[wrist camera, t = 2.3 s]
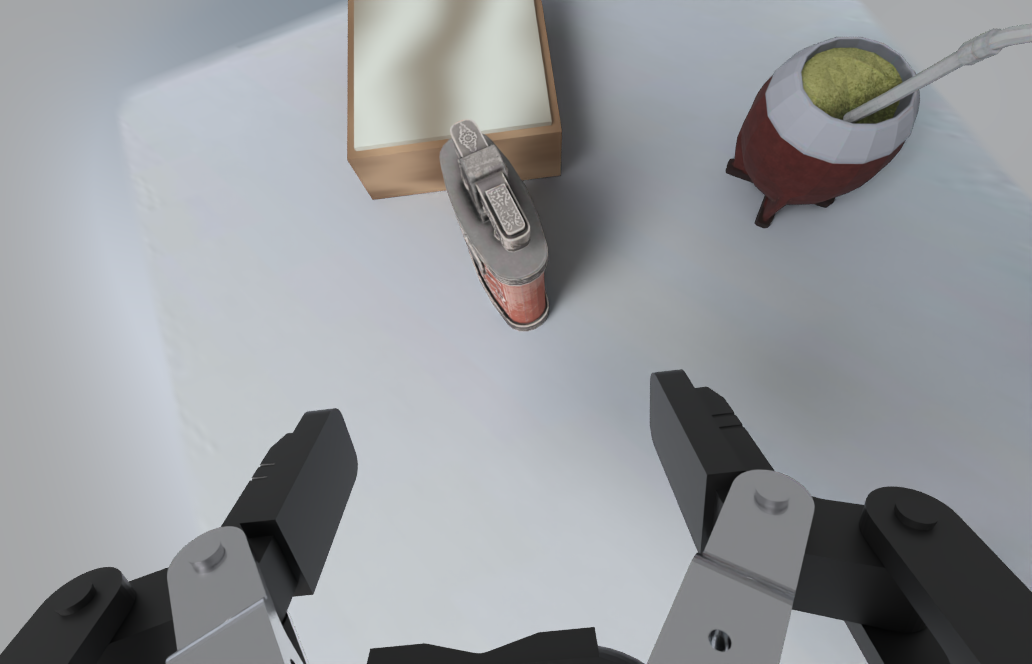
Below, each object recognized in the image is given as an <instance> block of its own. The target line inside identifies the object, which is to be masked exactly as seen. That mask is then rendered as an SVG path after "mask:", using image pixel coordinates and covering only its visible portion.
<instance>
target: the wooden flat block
mask: <svg viewBox="0 0 1032 664" xmlns="http://www.w3.org/2000/svg"><path fill="white" fill-rule="evenodd" d="M464 119H472V120H474V121H475V122H476V124H477V125H478V127H479V129H480V131H481V133H482V134H485V135H486V136H488V137H489V138H490V139H491V140H492V141H493V142H494V143H495V145H496V146H497V147H498V148H499V149H500V150H501V152H502V153H503V154H504V155H505V156H506V158H507V159H508V160H509V161H510V163H511V164H512V166H513V167H514V169H515V171H516V172H517V174H518V175H519V177H520V178H521V180H529V179H536V178H544V177H552V176H559V175H561V144H562V129H561V123H560V116H559V110H558V103H557V97H556V91H555V84H554V78H553V71H552V65H551V58H550V52H549V46H548V39H547V33H546V26H545V20H544V14H543V7H542V1H541V0H348V126H347V160H348V162H349V163H350V165H351V166H352V168H353V170H354V171H355V173H356V174H357V176H358V177H359V179H360V181H361V182H362V184H363V185H364V187H365V188H366V190H367V191H368V193H369V195H370V196H371V198H372V199H373V200H374V199H382V198H389V197H397V196H405V195H413V194H420V193H428V192H436V191H444V190H446V187H445V182H444V178H443V173H442V169H441V165H440V151H441V149H442V147H443V145H444V144H445V143H446V142H447V141H448V140H449V139H451V138H452V137H451V134H450V128H451V126H452V125H453V124H455V123H457V122H459V121H461V120H464Z"/></svg>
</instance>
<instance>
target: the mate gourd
mask: <svg viewBox="0 0 1032 664" xmlns="http://www.w3.org/2000/svg"><path fill="white" fill-rule="evenodd" d="M1028 42H1032V24H1026V25H1019V26H1012V27H1008V28H1005V29H1003V30H1001V29H992V30H989V31H987V32H985V33H983V34H980V35H979V36H977V37H975V38H973V39H971V40H969V41H967V42H965V43H963V44H962V46H961V47H960V48H959V49H958V51H956V52H954V53H953V54H951V55H949V56H948V57H946V58H944V59H943V60H941V61H939V62H937V63H936V64H934V65H932V66H931V67H929V68H927V69H925V70H924V71H922V72H920V73H918V74H917V75H916V74H915V72H914V70H913V69H912V68H911V66H910V65H909V64H908V63H907V61H906V60H905V59H904V57H903V56H902V55H901V54H899V53H898V52H896V51H895V50H893V49H892V48H890V47H888V46H887V45H885V44H884V43H881V42H877V41H874V40H870V39H867V38H863V37H835V38H832V39H829V40H826V41H823V42H820V43H817V44H814V45H812V46H809V47H807V48H804V49H803V50H801V51H799V52H798V53H796V54H795V55H793V56H792V57H791V58H790V59H789V60H787V61H786V62H785V63H784V64H783V65H782V66H780V67H779V68H778V69H777V70H776V71H775V72H774V74H773V75H772V77H771V78H770V79H769V80H768V81H767V82H766V83H765V84H764V85H763V86H762V88H761V89H760V91H759V92H758V94H757V96H756V98H755V100H754V102H753V105H752V107H751V109H750V111H749V113H748V115H747V117H746V119H745V121H744V123H743V125H742V128H741V130H740V132H739V135H738V137H737V143H736V150H735V159H730V160H729V162H728V164H727V168H726V173H728V174H730V175H732V176H735V177H738V178H741V179H744V180H747V181H749V182H752V183H754V185H755V186H756V187H757V188H758V189H759V190H760V191H761V192H762V193H763V194H764V195H765V197H764V199H763V202H762V205H761V207H760V210H759V212H758V215H757V217H756V220H755V224H756V225H757V226H759V227H762V228H768V227H769V226H770V224H771V222H772V220H773V218H774V215H775V213H776V212H777V211H779V210H780V209H781V208H782V207H784V206H785V205H796V204H815V205H818V206H822V207H825V208H826V207H828V206H829V205H830V204H832V203H833V202H834V200H835V197H837V196H840V195H843V194H846V193H848V192H850V191H852V190H855V189H857V188H859V187H861V186H862V185H863V184H865V183H866V182H867V181H869V180H870V179H871V178H872V177H873V176H875V175H876V174H877V173H878V172H879V171H880V170H881V169H882V168H884V167H885V166H886V165H887V164H888V163H889V162H890V161H891V160H892V159H893V158H894V157H895V156H896V154H897V153H898V152H899V151H900V149H901V148H902V146H903V144H904V142H905V140H906V139H907V138H908V137H909V136H910V134H911V132H912V129H913V126H914V122H915V119H916V116H917V113H918V109H919V103H920V92H919V89H921V88H923V87H925V86H927V85H928V84H930V83H932V82H934V81H936V80H938V79H940V78H941V77H943V76H945V75H947V74H949V73H950V72H952V71H954V70H956V69H958V68H960V67H962V66H963V65H973V64H975V63H977V62H979V61H981V60H984V59H985V58H989V57H991V56H994V55H996V54H998V53H999V52H1000V51H1001V50H1002V48H1004V47H1007V46H1010V45H1015V44H1022V43H1028Z"/></svg>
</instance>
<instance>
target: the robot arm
mask: <svg viewBox="0 0 1032 664" xmlns="http://www.w3.org/2000/svg"><path fill="white" fill-rule="evenodd" d="M650 429H651V435H652V440H653V443H654V446H655V449H656V451H657V454H658V456H659V459H660V461H661V463H662V466H663V468H664V471H665V473H666V476H667V478H668V480H669V483H670V485H671V488H672V490H673V493H674V495H675V497H676V500H677V502H678V505H679V507H680V510H681V512H682V514H683V517H684V519H685V522H686V524H687V527H688V529H689V531H690V534H691V536H692V539H693V541H694V544H695V546H696V548H697V551H698V553H696V555H695V556H694V558H693V559H692V561H691V564H690V566H689V568H688V570H687V573H686V575H685V577H684V579H683V582H682V584H681V586H680V589H679V591H678V593H677V596H676V598H675V600H674V602H673V605H672V607H671V609H670V612H669V614H668V616H667V619H666V621H665V623H664V625H663V628H662V630H661V632H660V635H659V637H658V639H657V641H656V644H655V646H654V648H653V651H652V653H651V655H650V658H649V660H648V662H647V664H779V662H780V658H781V653H782V649H783V645H784V640H785V636H786V632H787V627H788V623H789V619H790V614H791V610H792V609H793V610H797V611H802V612H807V613H811V614H816V615H821V616H826V617H830V618H835V619H840V620H844V621H845V623H846V625H847V627H848V628H849V630H850V632H851V634H852V635H853V637H854V639H855V641H856V643H857V644H858V646H859V648H860V650H861V651H862V653H863V655H864V657H865V659H866V660H867V662H868V664H1032V592H1031V591H1030V590H1029V589H1028V588H1027V587H1026V586H1025V585H1024V584H1023V583H1022V582H1021V581H1020V580H1019V578H1018V577H1017V576H1016V575H1015V574H1014V573H1013V572H1012V571H1011V570H1010V569H1009V568H1008V567H1007V566H1006V565H1005V564H1004V563H1003V562H1002V561H1001V560H1000V559H999V558H998V556H997V555H996V554H995V553H994V552H993V551H992V550H991V549H990V548H989V547H988V546H987V545H986V544H985V543H984V542H983V541H982V540H981V539H980V538H979V537H978V536H977V535H976V533H975V532H974V531H973V530H972V529H971V528H970V527H969V526H968V525H967V524H966V523H965V522H964V521H963V520H962V519H961V518H960V517H959V516H958V515H957V514H956V513H955V512H954V511H953V510H952V509H951V508H949V507H948V506H947V505H945V504H944V503H942V502H941V501H939V500H937V499H935V498H933V497H931V496H929V495H927V494H924V493H922V492H919V491H916V490H913V489H908V488H903V487H882V488H879V489H876V490H874V491H872V492H871V493H870V494H869V495H868V497H867V498H866V501H865V505H859V504H852V503H845V502H838V501H831V500H825V499H820V498H816V497H813V496H811V495H810V493H809V492H808V490H807V489H806V488H805V487H804V486H803V485H801V484H800V483H799V482H798V481H796V480H794V479H793V478H791V477H789V476H787V475H784V474H782V473H779V472H775V471H774V469H773V468H772V467H771V465H770V464H769V462H768V461H767V459H766V458H765V456H764V455H763V454H762V452H761V451H760V449H759V448H758V446H757V445H756V443H755V442H754V441H753V439H752V438H751V436H750V435H749V433H748V432H747V430H746V429H745V428H744V427H743V426H742V423H741V422H740V420H739V419H738V417H737V416H736V415H734V412H733V410H732V409H731V407H730V406H729V404H728V403H727V402H726V400H725V399H724V398H723V397H722V396H720V395H719V394H717V393H716V392H714V391H713V390H711V389H710V388H708V387H700V388H694V386H693V385H692V383H691V381H690V380H689V378H688V376H687V375H686V373H685V372H684V371H683V370H682V369H681V370H672V371H664V372H655V373H652V374H651V378H650ZM260 465H261V466H260V467H258V469H257V470H256V472H255V473H254V475H253V477H252V481H249V483H248V485H247V486H246V488H245V489H244V491H243V492H242V494H241V496H240V497H239V499H238V500H237V502H236V504H235V505H234V507H233V508H232V510H231V512H230V513H229V515H228V516H227V518H226V520H225V521H224V523H223V524H222V526H221V527H220V528H216V529H213V530H210V531H208V532H206V533H204V534H202V535H200V536H198V537H197V538H195V539H194V540H192V541H191V542H189V543H188V544H187V545H186V546H185V547H184V548H183V549H182V550H181V551H180V552H179V553H178V554H177V555H176V556H175V557H174V559H173V561H172V562H171V564H170V566H169V567H168V568H165V569H163V570H160V571H157V572H154V573H152V574H149V575H146V576H143V577H141V578H138V579H135V580H132V581H129V582H128V580H127V579H126V578H125V577H124V576H123V574H122V573H121V571H119V570H118V569H116V568H114V567H103V568H98V569H95V570H92V571H89V572H86V573H84V574H82V575H80V576H78V577H76V578H74V579H73V580H71V581H69V582H68V583H66V584H65V585H63V586H62V587H60V588H59V589H58V590H57V591H55V592H54V593H53V594H52V595H51V596H50V597H49V598H48V599H46V600H45V601H44V603H43V604H42V605H41V606H40V607H39V608H38V610H37V611H36V612H35V613H34V614H33V616H32V617H31V618H30V619H29V621H28V622H27V623H26V624H25V625H24V627H23V628H22V629H21V630H20V631H19V633H18V634H17V635H16V636H15V637H14V639H13V640H12V641H11V642H10V644H9V645H8V646H7V647H6V649H5V650H4V651H3V652H2V653H1V655H0V664H309V662H308V659H307V657H306V654H305V652H304V649H303V647H302V644H301V641H300V639H299V636H298V634H297V631H296V628H295V626H294V623H293V621H292V618H291V616H290V614H289V612H288V611H287V609H288V607H289V604H290V602H291V599H292V597H293V596H303V595H313V594H314V591H315V588H316V586H317V583H318V580H319V578H320V575H321V572H322V569H323V567H324V564H325V561H326V559H327V556H328V553H329V550H330V548H331V545H332V542H333V539H334V537H335V534H336V531H337V529H338V526H339V523H340V520H341V518H342V515H343V512H344V510H345V507H346V504H347V501H348V499H349V496H350V493H351V491H352V488H353V485H354V482H355V480H356V476H357V469H358V463H357V456H356V452H355V449H354V446H353V444H352V441H351V438H350V435H349V433H348V430H347V427H346V424H345V422H344V419H343V416H342V414H341V412H340V411H339V410H338V409H336V408H335V409H326V410H318V411H309V412H306V413H305V414H304V415H303V417H302V418H301V420H300V422H299V423H298V425H297V427H296V429H295V430H294V432H293V433H287V434H286V435H285V436H284V437H283V438H281V439H280V440H279V441H278V442H277V443H276V444H275V445H273V446H272V447H271V448H270V450H269V451H268V453H267V454H266V456H265V458H264V459H263V461H262V462H261V464H260ZM367 664H644V663H642V662H641V661H639V660H638V659H636V658H634V657H631V656H629V655H627V654H625V653H623V652H620V651H617V650H614V649H610V648H606V647H601V646H598V645H597V639H596V633H595V627H590V628H580V629H570V630H559V631H549V632H539V633H536V634H533V635H531V636H528V637H525V638H523V639H520V640H518V641H515V642H512V643H510V644H507V645H504V646H502V647H499V648H496V649H494V650H491V651H488V652H485V653H471V652H466V651H461V650H456V649H451V648H445V647H440V646H435V645H430V644H415V645H404V646H394V647H384V648H373V649H370V653H369V657H368V661H367Z"/></svg>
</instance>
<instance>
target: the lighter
mask: <svg viewBox="0 0 1032 664" xmlns="http://www.w3.org/2000/svg"><path fill="white" fill-rule="evenodd" d="M450 134H451V137H452V138H451V139H449V140H448V141H447V142H446V143H445V144H444V145H443V147H442V149H441V151H440V165H441V169H442V173H443V178H444V182H445V187H446V190H447V193H448V195H449V198H450V201H451V203H452V206H453V209H454V211H455V214H456V217H457V220H458V222H459V225H460V228H461V230H462V233H463V236H464V238H465V241H466V244H467V246H468V249H469V253H470V256H471V259H472V261H473V264H474V267H475V269H476V272H477V275H478V277H479V280H480V282H481V284H482V286H483V288H484V290H485V291H486V293H487V295H488V297H489V298H490V300H491V302H492V304H493V305H494V307H495V308H496V309H497V311H498V312H499V313H500V315H501V316H502V317H503V319H504V320H505V321H506V323H507V324H508V325H509V326H510V327H511V328H513V329H515V330H518V331H530V330H533V329H536V328H537V327H539V326H541V325H542V324H543V323H544V321H545V320H546V319H547V316H548V314H549V301H548V297H547V293H546V290H545V284H544V271H545V269H546V266H547V264H548V246H547V243H546V239H545V236H544V232H543V229H542V225H541V222H540V218H539V215H538V213H537V211H536V208H535V206H534V204H533V202H532V199H531V197H530V195H529V193H528V190H527V188H526V186H525V184H524V183H523V181H522V180H521V178H520V177H519V175H518V174H517V172H516V171H515V169H514V167H513V166H512V164H511V163H510V161H509V160H508V159H507V158H506V156H505V155H504V154H503V153H502V152H501V150H500V149H499V148H498V147H497V146H496V145H495V143H494V142H493V141H492V140H491V139H490V138H489V137H488V136H486V135H485V134H482V133H481V131H480V129H479V127H478V125H477V124H476V122H475V121H474V120H472V119H464V120H461V121H459V122H457V123H455V124H453V125H452V126H451V128H450Z"/></svg>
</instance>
